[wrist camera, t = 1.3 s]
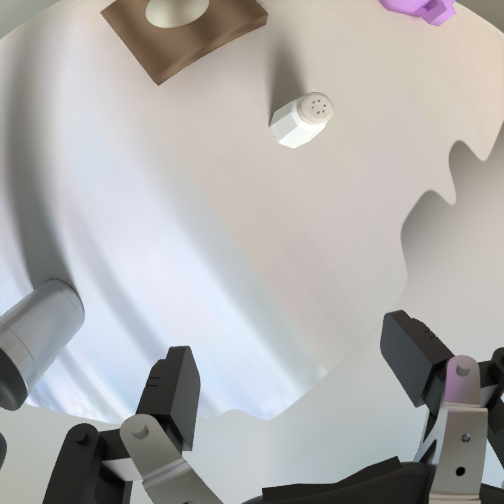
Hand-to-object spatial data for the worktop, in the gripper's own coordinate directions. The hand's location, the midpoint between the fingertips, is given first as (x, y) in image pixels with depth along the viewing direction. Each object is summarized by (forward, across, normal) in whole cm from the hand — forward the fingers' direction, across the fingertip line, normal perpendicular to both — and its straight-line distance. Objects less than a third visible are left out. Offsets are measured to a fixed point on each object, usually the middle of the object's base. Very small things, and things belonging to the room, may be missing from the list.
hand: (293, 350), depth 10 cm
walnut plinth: (+25, -6, +30) cm, 39 cm away
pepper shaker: (+25, +6, +11) cm, 28 cm away
